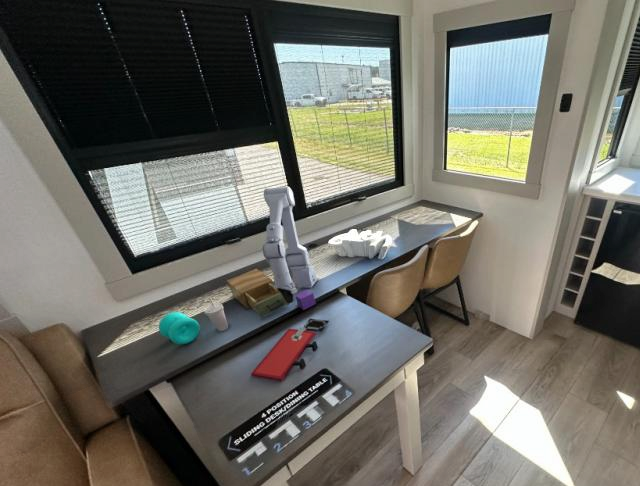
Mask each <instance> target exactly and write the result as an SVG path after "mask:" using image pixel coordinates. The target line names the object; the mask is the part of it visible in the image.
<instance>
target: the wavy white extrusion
mask: <svg viewBox="0 0 640 486" xmlns="http://www.w3.org/2000/svg"><path fill="white" fill-rule="evenodd" d="M392 242H393V238H392V237H391V235H389V234H385V235H383V231H382V230H377V231H376V232H375V233H372V230H370V229H367V230H365V231H363V230H362V231H360V233H358V230H357V229H355V228H354V229H350V230H349V231H348V232H347V233H342V234H338V235H335V236H334V237H332V238H331V239H329V240H328V244H329V245H330V247H331V248H332V250H333V251H334V252H335V253H336V254H337V255H338V256H339V257H348V258H354V257H366V258H368V259H370V260H372V259H374V258H375V256H377V255H378V257H377V259H378V260H383V259H384V258H385V257H386V255H387V253H388V252H389V249H390V247H391V245H392Z"/></svg>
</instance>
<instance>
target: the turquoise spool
mask: <svg viewBox="0 0 640 486" xmlns="http://www.w3.org/2000/svg"><path fill="white" fill-rule="evenodd" d="M200 329H201V327H200V324H199V322H198V321H197V320H196V319H194V318H192V317H188V316H187V315H186V314H185V313H183V312H181V311H174V312H169V313H168V314H166V315H164V316H163V317H162V318H161V319H160V321H159V323H158V331H159V333H160V335H162V336H163V337H165V338H168V339H170V340H171V342H172V343H174V344H177V345H187V344H189V343H192V342H193V341H194V340H196V338H197V337H198V335H199V334H200V331H201V330H200Z"/></svg>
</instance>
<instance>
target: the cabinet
mask: <svg viewBox="0 0 640 486" xmlns="http://www.w3.org/2000/svg"><path fill="white" fill-rule="evenodd" d="M226 283H227V286H228V287H229V290H230V293H231V295H232V297H233V298H235V299H236V300H237V301H238V302H239V303H240V304H241V305H243V307H245V308H246V309H247V310H249V309H251V308H252V307H251V306H250V305H249V304H248V303H247V301H246V299H245V296H244V293H246V292H249V291H251V290H253V289H256V288H258V287H260V286H263V285H265V284H267V283H271V284H272V285H273V286H274V285H275V284H274V280H273V278H270V277H269V276H267V275H266V274H265V273H263V272H261V270H259V269H257V268H254V269H253V270H250V271H248V272H244V273H242V274H239V275H237V276H234V277H232V278H230V279H227V280H226Z"/></svg>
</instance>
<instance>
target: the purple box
mask: <svg viewBox="0 0 640 486" xmlns="http://www.w3.org/2000/svg"><path fill="white" fill-rule="evenodd" d="M294 297H295V302H296V304H297V307H298V308H300V309H302V311H305V310H307V309H309V308H310V307H313V306H314V305H316V304H317V302H316V299H315V298H316V297H315V295H314V292H312V291H311V290H310V289H309V288H308V289H307V288H306V289H305V290H303V291H301V292H299V293H297V294H295V295H294Z"/></svg>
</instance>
